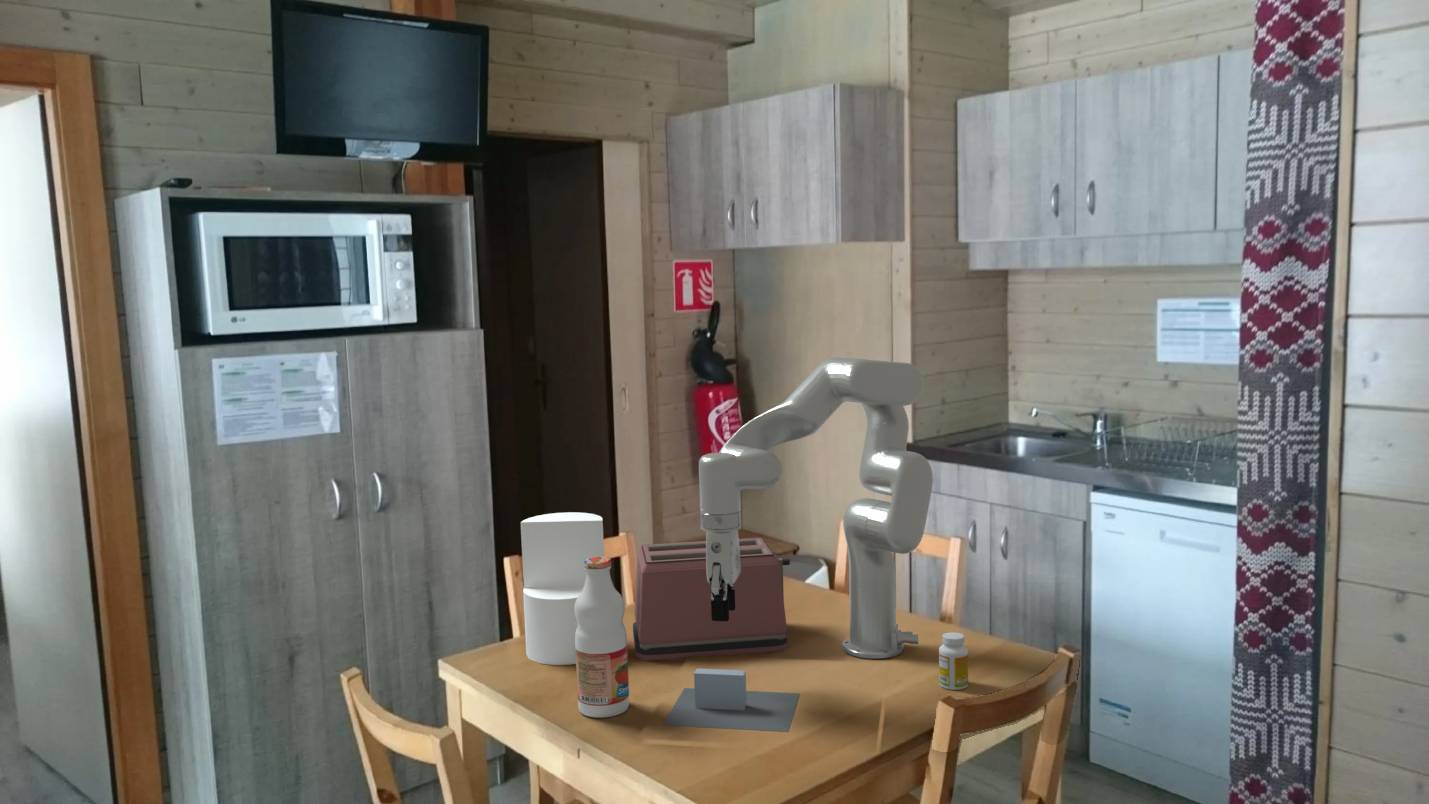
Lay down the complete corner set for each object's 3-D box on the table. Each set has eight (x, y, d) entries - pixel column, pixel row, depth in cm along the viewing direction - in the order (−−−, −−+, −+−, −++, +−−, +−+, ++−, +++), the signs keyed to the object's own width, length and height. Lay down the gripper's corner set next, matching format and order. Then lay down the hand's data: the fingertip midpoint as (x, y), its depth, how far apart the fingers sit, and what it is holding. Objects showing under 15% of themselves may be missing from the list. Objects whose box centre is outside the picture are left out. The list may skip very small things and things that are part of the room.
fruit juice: (575, 701, 201) (568, 555, 198) (625, 695, 203) (619, 551, 200) (580, 721, 192) (573, 568, 189) (633, 715, 194) (627, 563, 191)
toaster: (799, 650, 225) (797, 555, 223) (637, 662, 221) (633, 565, 219) (782, 622, 244) (780, 533, 242) (632, 632, 240) (628, 543, 237)
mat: (800, 697, 200) (800, 693, 200) (788, 736, 184) (788, 731, 184) (684, 691, 205) (684, 687, 204) (662, 729, 188) (662, 724, 188)
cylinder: (535, 637, 238) (528, 513, 235) (613, 635, 238) (607, 511, 234) (518, 665, 221) (511, 532, 218) (602, 664, 221) (596, 530, 217)
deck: (746, 704, 196) (745, 670, 195) (744, 710, 193) (743, 675, 192) (698, 702, 197) (697, 668, 197) (695, 707, 195) (694, 673, 194)
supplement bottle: (969, 681, 205) (969, 632, 204) (966, 691, 200) (966, 641, 199) (941, 678, 207) (940, 629, 206) (937, 689, 202) (936, 639, 201)
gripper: (732, 531, 190) (735, 631, 192) (748, 510, 207) (751, 601, 209) (690, 531, 191) (694, 629, 193) (710, 509, 208) (713, 600, 210)
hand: (723, 614), depth 201 cm, fingers open, 5 cm apart
